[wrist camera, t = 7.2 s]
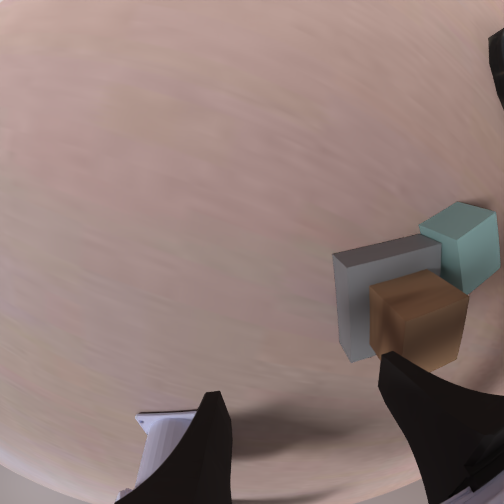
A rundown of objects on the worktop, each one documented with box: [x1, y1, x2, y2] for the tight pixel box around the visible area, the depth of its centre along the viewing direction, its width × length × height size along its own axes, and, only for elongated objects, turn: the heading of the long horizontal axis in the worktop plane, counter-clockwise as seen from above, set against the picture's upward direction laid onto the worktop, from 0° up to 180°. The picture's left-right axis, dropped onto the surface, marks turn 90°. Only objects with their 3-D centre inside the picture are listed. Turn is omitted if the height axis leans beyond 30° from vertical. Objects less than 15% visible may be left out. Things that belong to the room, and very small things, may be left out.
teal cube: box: [419, 202, 500, 295], centre depth 18 cm, size 5×5×5 cm
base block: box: [332, 234, 441, 363], centre depth 20 cm, size 8×8×3 cm
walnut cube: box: [369, 269, 469, 372], centre depth 16 cm, size 5×5×5 cm
